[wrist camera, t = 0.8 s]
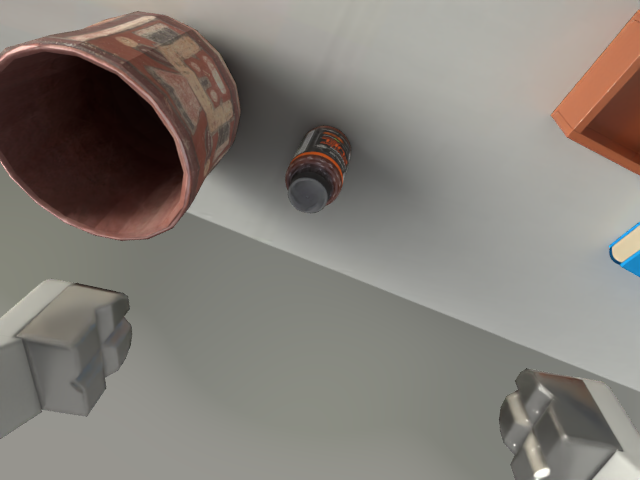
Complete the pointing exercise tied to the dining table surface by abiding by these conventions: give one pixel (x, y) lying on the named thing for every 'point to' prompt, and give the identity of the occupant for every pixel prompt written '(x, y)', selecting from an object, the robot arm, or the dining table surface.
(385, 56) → the dining table surface
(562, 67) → the dining table surface
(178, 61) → the pottery
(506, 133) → the dining table surface
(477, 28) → the dining table surface
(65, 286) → the robot arm
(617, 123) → the caddy
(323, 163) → the supplement bottle
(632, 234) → the book
